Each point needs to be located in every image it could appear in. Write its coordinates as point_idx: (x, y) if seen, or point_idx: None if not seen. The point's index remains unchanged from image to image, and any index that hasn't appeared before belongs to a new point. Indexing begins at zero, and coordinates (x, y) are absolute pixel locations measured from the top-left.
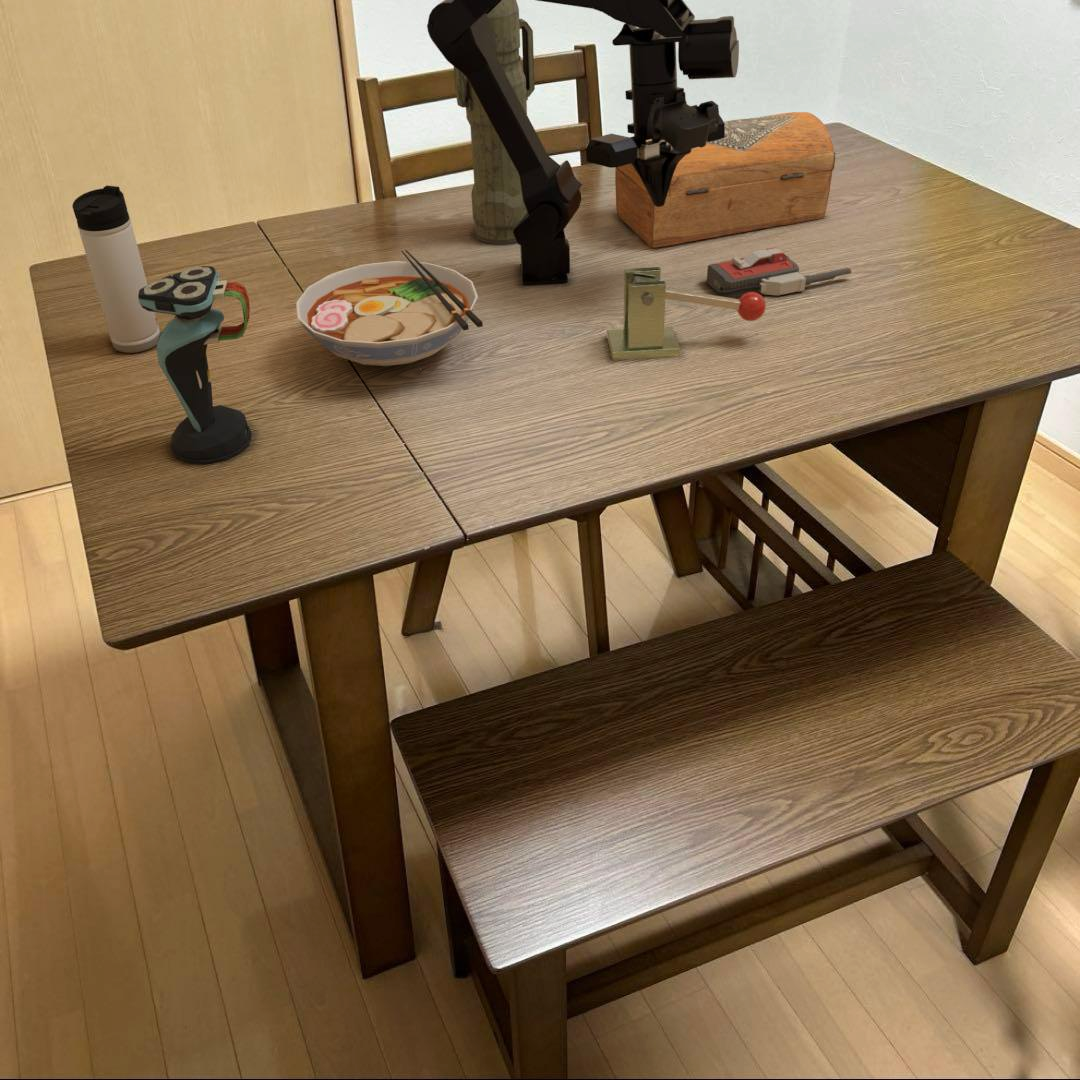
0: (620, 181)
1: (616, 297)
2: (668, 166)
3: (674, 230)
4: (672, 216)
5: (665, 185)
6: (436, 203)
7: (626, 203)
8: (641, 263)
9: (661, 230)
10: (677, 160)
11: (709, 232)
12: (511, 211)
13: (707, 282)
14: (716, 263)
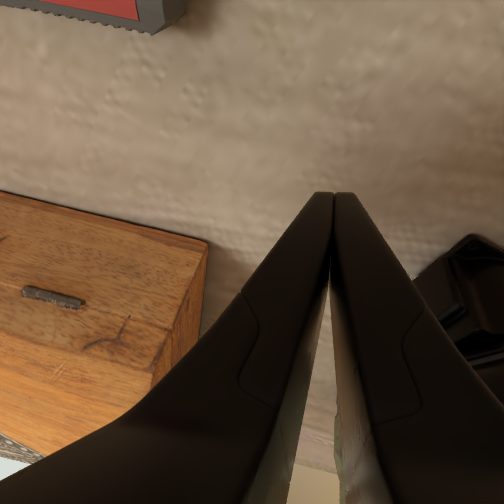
0: None
1: (448, 103)
2: (266, 425)
3: (148, 250)
4: (141, 274)
5: (309, 272)
6: None
7: None
8: (263, 210)
9: (177, 261)
10: (129, 457)
11: (76, 218)
12: None
13: (183, 7)
14: (132, 17)
